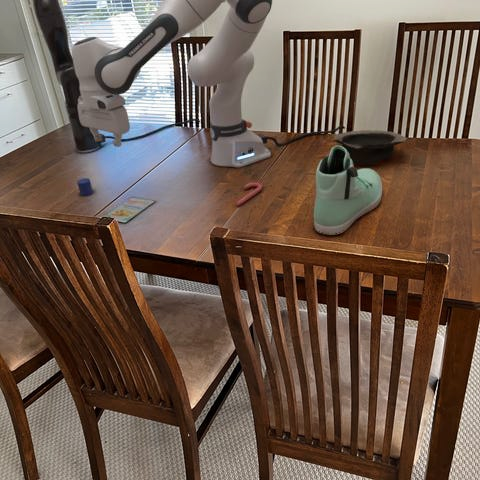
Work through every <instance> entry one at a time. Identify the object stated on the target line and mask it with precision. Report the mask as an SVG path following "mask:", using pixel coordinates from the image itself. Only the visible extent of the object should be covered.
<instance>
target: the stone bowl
mask: <svg viewBox="0 0 480 480" xmlns="http://www.w3.org/2000/svg"><path fill="white" fill-rule="evenodd" d="M332 141H333V142H335V143H337V144H340V145H341V146H342V147H344V148H345V149H346V150H347V152H348V153H349V156H350V159H352V161H353V165H355V166H357V165H360V166H369V165H377V164H380V163H381V162H382V160H391V159H392V158H393V156H394V151H395V146H397V145H400V144H403V143H404V142H406V141H407V137H405V136H404V135H402V134H400V133H397V132H393V131H387V130H386V131H385V130H352V131H351V130H350V131H345V132H342V133H337V134H336V135H334V136H333V140H332Z"/></svg>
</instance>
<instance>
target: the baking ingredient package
mask: <svg viewBox="0 0 480 480" xmlns="http://www.w3.org/2000/svg"><path fill="white" fill-rule="evenodd" d="M153 203H155V201H154V200H150V199H145V198H137V197H130V198H129V199H128V200H125V201H123V203H122V204H120V205H119V206H117V207H115V208H114V209H112V210H111V211H110V212H108V213H107V214H105V215H104V216H106V217H114V218H115V219H116V220H117V221H116V222H120V223H127V222H129V221H130V220H131V219H132V218H134V217H135V216H137V215H138V214H140V213H141V212H142V211H143V210H145V209H146V208H148V207H149V206H150V205H152V204H153Z"/></svg>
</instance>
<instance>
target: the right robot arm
mask: <svg viewBox="0 0 480 480" xmlns="http://www.w3.org/2000/svg"><path fill="white" fill-rule="evenodd" d="M225 2H226V3H227V4H228V5H229V9H228V11H227V13H226V15H225V17H224V19H223V21H222V23H221V26H220V27H219V29H218V30H217V32H216V33H215V35H213V37H212V38H211V39H210V40H209V41H208V42H207V44H206V45H205V46H204V47H203V48H202V49H200V51H199V52H198V53H196V54H195V55H193V56H192V57H191V58H189V60H188V64H187V74H188V75H187V76H188V77H189V79H190V81H191V82H192V83H193V84H194V85H195V86H196V87H205V88H206V87H214V86H217V87H216V89H215V92H214V93H213V94H212V95H211V97H210V99H209V101H208V102H209V103H208V104H209V105H208V106H209V116H210V123H209V127H210V128H209V130H210V131H209V132H210V138H211V146H212V147H211V156H210V162H211V164H212V165H215V166H219V167H232V168H242V167H246V166H249V165H251V164H254V163H257V162H261V161H264V160H265V159H268V158H271V156H272V154H271V151H270V150H269V148H267V147H265V145H266V144H268V140H271V141H273V143H274V144H275V145H276V146H278V147H282V146H285V145H288V144H290V143H292V142H294V141H297V140H299V139H302V138H305V137H308V136H313V135H325V134H333V133H336V132H338V131H339V130H340V129H342V130H345V129H346V127H345V126H344V125H342V124H341V125H339V126H337V127H336V128H334V129H330V130H321V131H311V132H305V133H302V134H300V135H298V136H295V137H293V138H290V139H288V140H287V141H285V142H282V143H281V142H280V143H279V142H278V141H277V139H276V138H275V137H273V136H268V135H267V136H266V135H264V134H262V133H258V134H256V132H253V131H252V130H250V129H251V128H252V127H253V123H252V122H250V121H248V120H245V119H244V118H243V115H242V96H243V91H244V88H245V84H246V81H247V79H248V76H249V75H250V73H251V72H252V71H253V69H254V66H255V56H254V54H253V51H252V50H251V48H252V46H253V44H254V42H255V40H256V39H257V37H258V35H259V33H260V32H261V30H262V28H263V26H264V25H265V24H264V23H265V21H266V20H267V17H268V15H269V14H270V12H271V9H272V5H273V0H162V2H161V3H160V5H159V6H158V8H157V10H156V11H155V13H154V15H153V17H152V18H151V20H150V21H149V22H148V23H147V25H146V26H145V27H144V29H143V30H142V31H141V32H140V33H138V34H137V36H135V37H134V38H133V39H132V40H131V41H130V42H129V43H128V44H127V45H126V46H124V47H123V46H117V45H114V44H111V43H107V42H106V41H104V40H102V39H100V38H99V37H97V36H90V37H87V38H84V39H81V40H78V41H76V42H75V43H74V44H73V45H72V47H71V55H72V58H73V63H74V68H75V72H76V76H77V77H78V79H79V83H80V93H81V95H80V96H79V98H78V114H79V119H80V123H81V124H82V126H85V127H89V128H90V131H91V133H92V134H93V136H94V138H95V141H97V142H100V141H102V135H100V134H101V133H100V132H99V131H103V132H107V133H110V134H112V136H113V137H115V139H114V140H112V143H113V146H114V147H116V148H120V147H122V145H123V144H122V141H121V139H123V138H122V137H123V135H124V134H127V133H129V132H130V129H131V126H130V118H129V115H128V110H127V108H126V107H125V105H126V99H125V97H124V96H122V95H124V94H125V93H126V92H128V91H129V90H130V88H131V87H132V85H133V83H134V82H135V81H136V79H137V78H138V76H139V75H140V72H141V69H142V68H143V67H144V66H145V65H146V64H147V63H148V62H150V60H152V59H153V58H154V57H155V56H156V55H157V54H158V53H159V52H161V50H163V49H164V48H165V47H167V46H169V45H170V44H171V43H174V42H175V41H177V40H179V39H181V38H182V37H184V36H187V35H188V34H190V33H191V32H193V31H194V30H196V29H197V28H198V27H200V26H201V25H202V24H203V23H204V22H205V21H207V20H208V19H209V18H210V17H211V16H212V15H213V14H214V13H215V12H216V10H217V9H219V7H220V6H221V5H222V4H223V3H225ZM97 129H98V130H97ZM99 133H100V134H99Z"/></svg>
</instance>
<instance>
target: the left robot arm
mask: <svg viewBox="0 0 480 480" xmlns="http://www.w3.org/2000/svg"><path fill="white" fill-rule="evenodd" d="M59 1H60V0H32V7H33V11H34V15H35V18H36V21H37V23H38V27H39V29H40V31H41V35H42V37H43V39H44V42H45V44H46V46H47V49H48V51H49V54H50V57H51V60H52V65H53V68H54V74H55V78H56V80H57V83H58V84H59V85H60V86H61V88H62V92H63V97H64V106H65V110H66V114H67V115H66V116H67V118H68V122H69V126H70V130H71V133H72V137H73V142H74V145H75V148H76V149H75V150H76V152H77V153H80V154H87V153H92V152H96V151H97V150H99V149H100V148H102V144H103V143H106V142H107V140H106V139H113V140H115V136H114V135H105V134H103V133H100V132H99V134H100V135H102V141H100V142H97V141H95V138H94V136H93V134H92V133H91V131H90V128H89V127H85V126H82V124H81V123H80V119H79V114H78V98H79V96H80V95H81V93H80V83H79V79H78V77H77V76H76V72H75V68H74V63H73V57H72V51H71V49H70V45H69V34H68V33H69V32H68V28H67V22H66V20H65V17H64V14H63V10H62V7H61V5H60V2H59ZM191 122H197V123H201V122H202V121H201V120H199V119H197V118H189V119H187V120H184V121H181V122H179V121H178V122H175V123H171V124H168V125H163V126H161V127H159V128H157V129H154V130H152V131H149V132H147V133H145V134H141V135H138V136H133V137H129V138H121V142H129V141H134V140H137V139H142V138H144V137H148V136H150V135H152V134H155V133H158V132H160V131H163V130H165V129H167V128H170V127H174V126H180V125H185V124H188V123H191ZM97 130H98V129H97ZM98 131H99V130H98Z"/></svg>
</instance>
